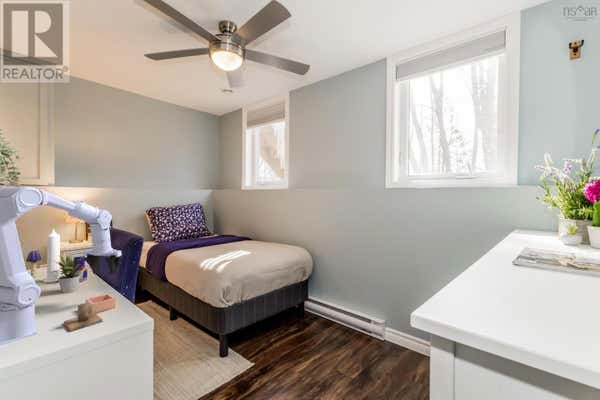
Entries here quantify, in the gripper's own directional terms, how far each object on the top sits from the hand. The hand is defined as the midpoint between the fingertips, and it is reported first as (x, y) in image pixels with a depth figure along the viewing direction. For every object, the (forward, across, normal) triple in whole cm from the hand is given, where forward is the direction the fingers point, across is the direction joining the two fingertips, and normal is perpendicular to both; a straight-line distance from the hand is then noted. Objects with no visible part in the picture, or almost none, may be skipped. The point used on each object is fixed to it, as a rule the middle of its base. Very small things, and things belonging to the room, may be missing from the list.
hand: (105, 273), depth 104 cm
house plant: (+11, +25, -5) cm, 28 cm away
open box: (+10, -5, +9) cm, 14 cm away
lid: (+8, -9, +19) cm, 22 cm away
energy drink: (+13, +32, -18) cm, 39 cm away
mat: (+9, -9, +19) cm, 23 cm away
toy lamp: (+11, +40, -4) cm, 42 cm away
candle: (+12, +44, -16) cm, 48 cm away
